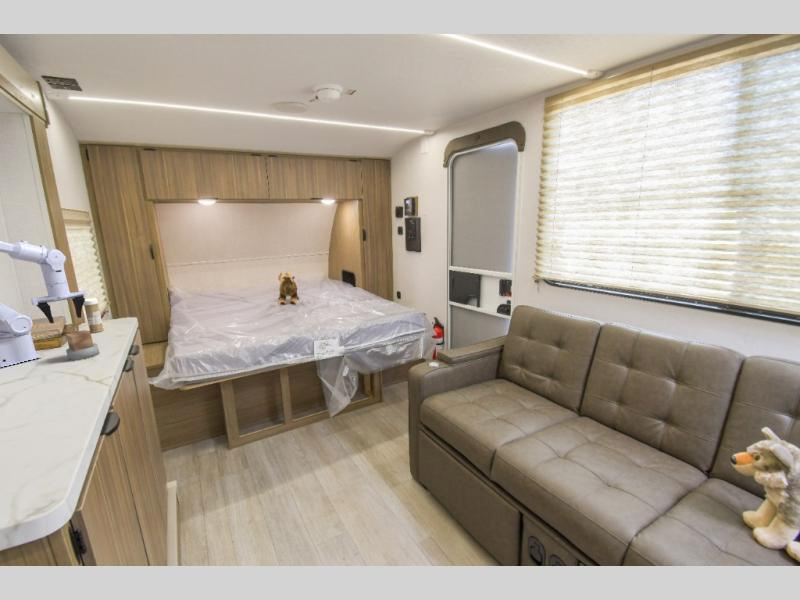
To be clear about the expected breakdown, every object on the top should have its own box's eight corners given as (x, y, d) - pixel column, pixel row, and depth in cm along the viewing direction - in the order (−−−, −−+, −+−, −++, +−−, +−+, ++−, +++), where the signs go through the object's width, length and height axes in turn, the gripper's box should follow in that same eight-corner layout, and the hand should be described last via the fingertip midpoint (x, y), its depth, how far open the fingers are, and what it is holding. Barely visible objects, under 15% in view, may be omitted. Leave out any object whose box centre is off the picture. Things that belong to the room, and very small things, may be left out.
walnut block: (75, 351, 118) (71, 336, 117) (69, 348, 121) (65, 334, 119) (93, 346, 122) (90, 332, 121) (88, 343, 125) (84, 330, 123)
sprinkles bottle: (87, 332, 147) (79, 300, 144) (99, 329, 151) (92, 297, 148) (94, 333, 145) (86, 301, 142) (106, 330, 149) (99, 298, 146)
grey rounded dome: (73, 362, 117) (70, 353, 116) (64, 357, 121) (62, 349, 120) (103, 354, 123) (101, 345, 122) (94, 349, 127) (92, 341, 127)
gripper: (31, 287, 120) (42, 327, 123) (86, 280, 132) (94, 316, 135) (25, 285, 124) (36, 324, 127) (79, 278, 135) (87, 313, 139)
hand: (65, 320), depth 131 cm, fingers open, 7 cm apart
